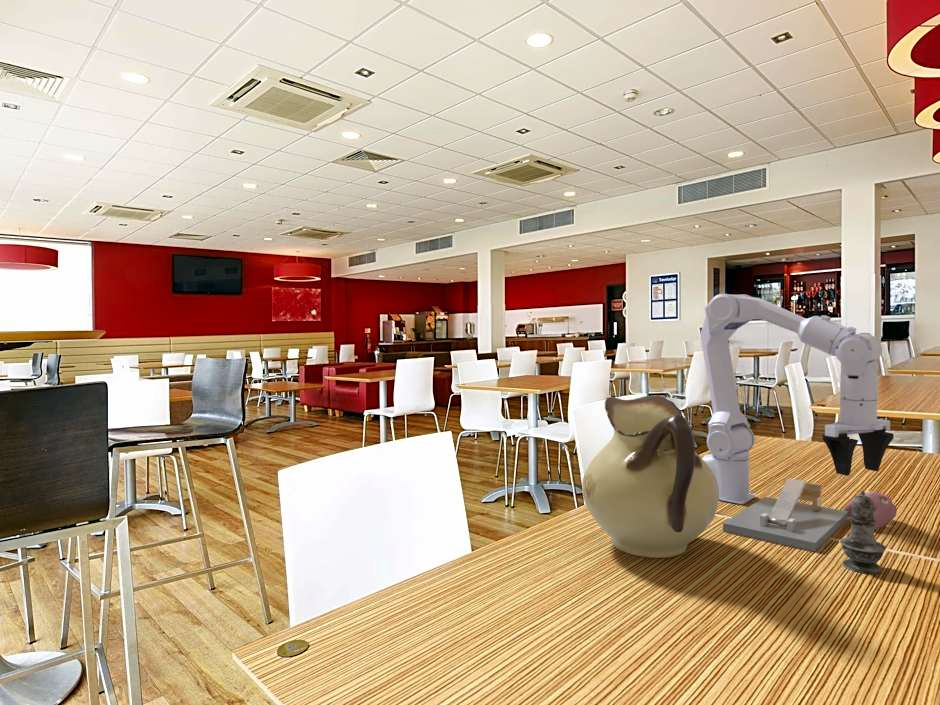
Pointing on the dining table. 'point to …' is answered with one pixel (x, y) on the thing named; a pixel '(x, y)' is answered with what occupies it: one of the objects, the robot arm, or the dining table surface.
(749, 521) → the base board
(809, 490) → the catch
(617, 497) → the pitcher
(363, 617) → the dining table surface
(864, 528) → the grey stone finial
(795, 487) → the silver flat bar
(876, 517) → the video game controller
